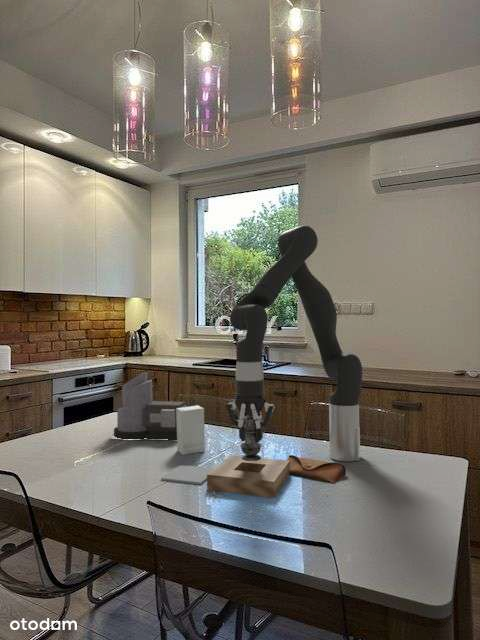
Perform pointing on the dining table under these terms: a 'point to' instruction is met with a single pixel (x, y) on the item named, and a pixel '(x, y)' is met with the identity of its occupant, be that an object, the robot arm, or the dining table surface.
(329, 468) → the sunglasses case
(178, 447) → the skincare box
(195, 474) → the grey mat
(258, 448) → the grey stone ornament
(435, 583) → the dining table surface
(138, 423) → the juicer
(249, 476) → the pocket holder
